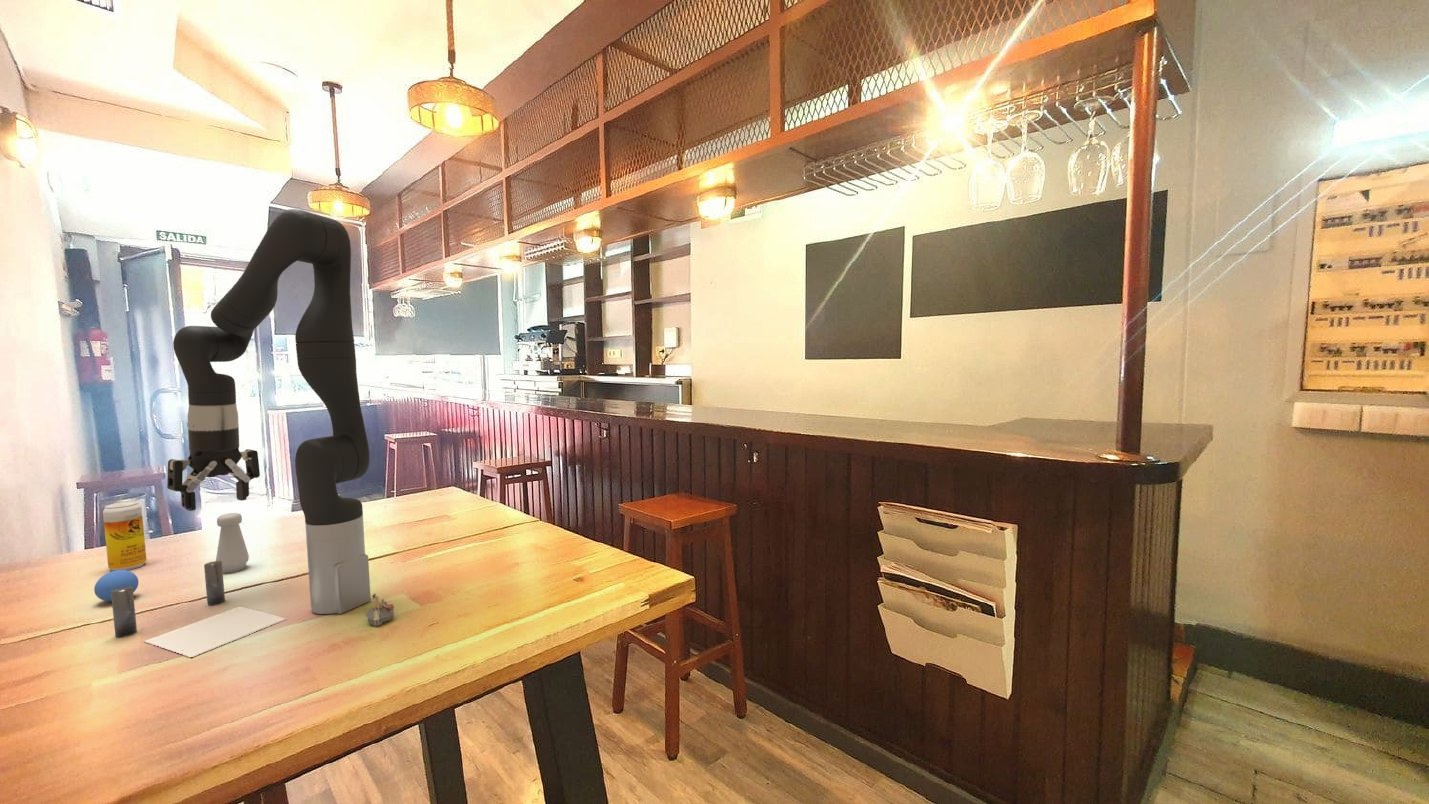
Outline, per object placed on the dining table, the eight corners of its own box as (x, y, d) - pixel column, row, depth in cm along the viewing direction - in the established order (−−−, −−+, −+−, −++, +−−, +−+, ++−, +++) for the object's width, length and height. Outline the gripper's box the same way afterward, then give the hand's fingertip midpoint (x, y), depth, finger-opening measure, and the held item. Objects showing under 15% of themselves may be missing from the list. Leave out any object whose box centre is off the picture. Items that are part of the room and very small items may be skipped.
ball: (146, 596, 112) (143, 567, 111) (105, 608, 106) (101, 579, 106) (130, 591, 114) (127, 563, 113) (89, 603, 108) (86, 574, 108)
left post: (140, 631, 97) (135, 587, 97) (119, 638, 95) (115, 593, 94) (132, 628, 98) (128, 585, 98) (112, 635, 96) (107, 591, 95)
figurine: (370, 615, 102) (368, 586, 101) (396, 612, 104) (395, 583, 103) (363, 632, 98) (361, 602, 96) (391, 629, 99) (390, 599, 98)
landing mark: (286, 619, 101) (285, 618, 101) (191, 658, 88) (190, 657, 88) (240, 607, 106) (240, 606, 106) (144, 642, 93) (144, 641, 93)
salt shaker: (219, 576, 121) (214, 519, 120) (213, 570, 125) (208, 515, 124) (253, 568, 126) (248, 513, 125) (246, 563, 130) (241, 509, 128)
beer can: (126, 572, 124) (120, 507, 123) (100, 572, 124) (94, 507, 123) (154, 562, 130) (148, 500, 129) (129, 562, 130) (123, 500, 129)
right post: (228, 600, 109) (224, 561, 109) (212, 606, 107) (208, 566, 106) (220, 598, 110) (217, 560, 110) (204, 604, 108) (201, 564, 107)
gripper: (178, 432, 102) (182, 517, 104) (265, 424, 115) (268, 499, 117) (157, 428, 105) (161, 510, 106) (244, 420, 118) (246, 493, 120)
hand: (217, 504), depth 112 cm, fingers open, 8 cm apart
